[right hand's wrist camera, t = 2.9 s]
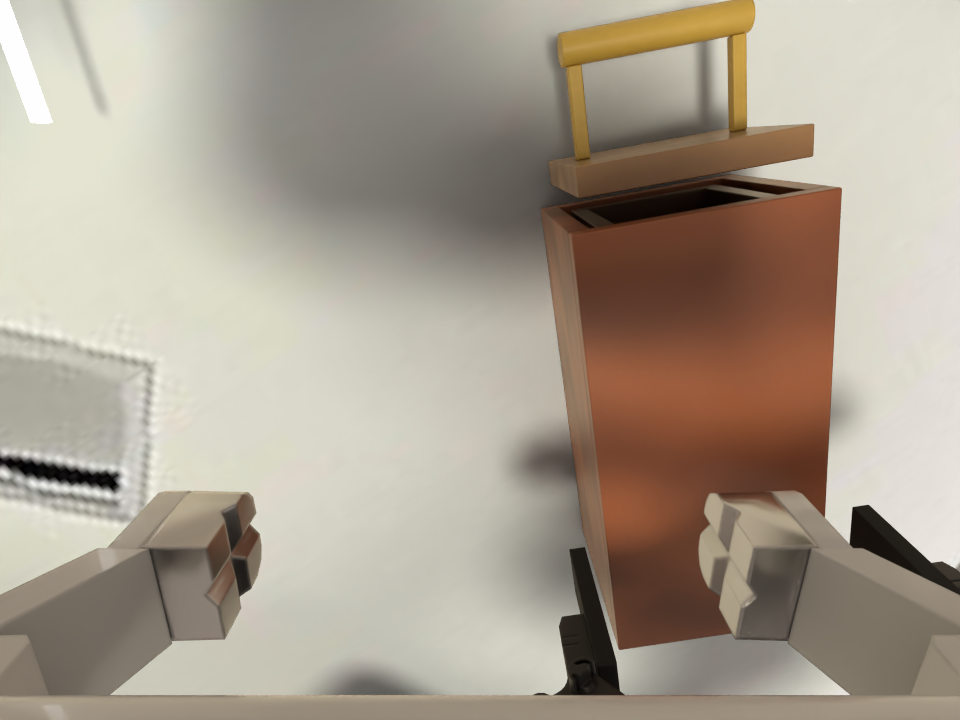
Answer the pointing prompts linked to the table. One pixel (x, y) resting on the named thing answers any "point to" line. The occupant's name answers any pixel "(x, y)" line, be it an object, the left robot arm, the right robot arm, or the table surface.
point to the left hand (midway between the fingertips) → (717, 548)
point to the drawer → (676, 154)
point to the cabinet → (691, 380)
